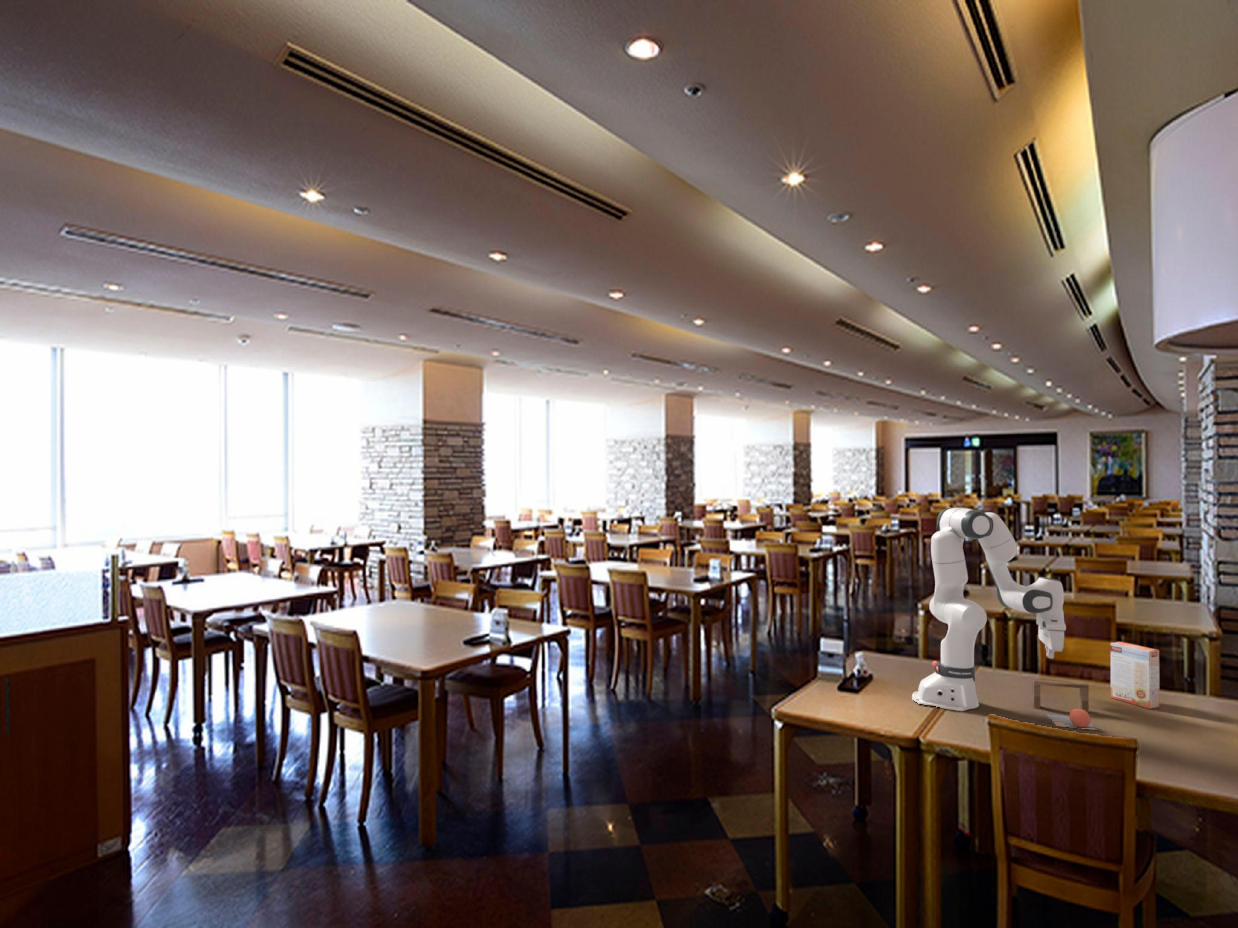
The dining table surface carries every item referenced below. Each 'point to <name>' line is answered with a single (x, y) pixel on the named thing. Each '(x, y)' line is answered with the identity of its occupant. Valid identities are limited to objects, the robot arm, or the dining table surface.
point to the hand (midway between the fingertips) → (1050, 657)
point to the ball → (1079, 718)
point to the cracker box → (1135, 674)
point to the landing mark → (1066, 721)
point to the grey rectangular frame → (1082, 686)
